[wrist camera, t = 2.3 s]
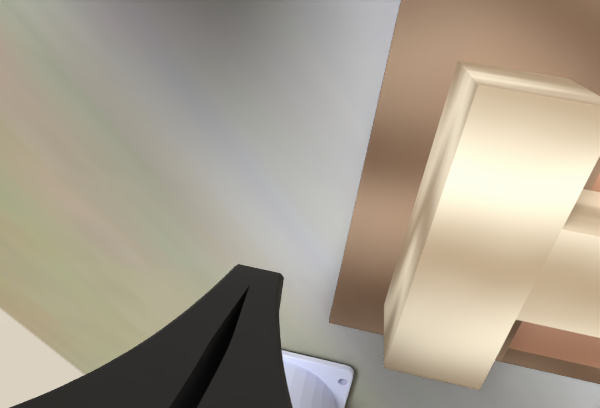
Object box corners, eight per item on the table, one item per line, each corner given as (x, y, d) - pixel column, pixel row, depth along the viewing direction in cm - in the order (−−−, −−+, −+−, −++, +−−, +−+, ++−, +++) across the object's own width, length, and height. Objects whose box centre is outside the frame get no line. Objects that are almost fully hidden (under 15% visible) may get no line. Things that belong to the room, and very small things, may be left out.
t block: (632, 359, 21) (682, 437, 17) (384, 304, 22) (383, 367, 18) (810, 119, 15) (940, 164, 11) (457, 60, 16) (478, 84, 12)
